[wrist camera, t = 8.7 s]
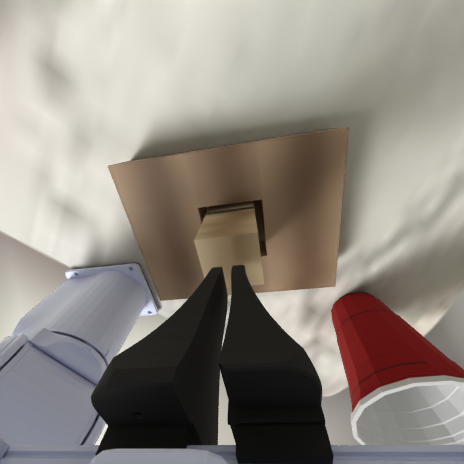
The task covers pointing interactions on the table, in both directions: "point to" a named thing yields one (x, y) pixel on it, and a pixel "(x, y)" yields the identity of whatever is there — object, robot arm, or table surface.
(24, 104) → the table surface
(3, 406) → the robot arm
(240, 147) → the walnut socket block
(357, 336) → the plastic cup
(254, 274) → the oak peg
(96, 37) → the table surface
